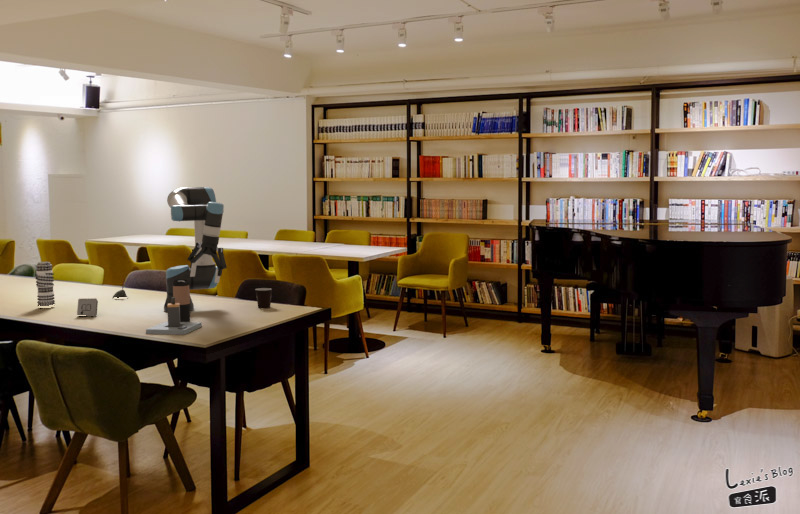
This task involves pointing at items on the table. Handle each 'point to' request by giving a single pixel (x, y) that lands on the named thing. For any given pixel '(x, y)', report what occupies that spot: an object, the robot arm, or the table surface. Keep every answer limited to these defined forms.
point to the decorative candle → (45, 284)
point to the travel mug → (182, 298)
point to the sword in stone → (120, 293)
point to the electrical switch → (87, 307)
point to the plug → (173, 313)
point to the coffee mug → (263, 297)
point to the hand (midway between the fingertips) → (204, 279)
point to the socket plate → (174, 328)
